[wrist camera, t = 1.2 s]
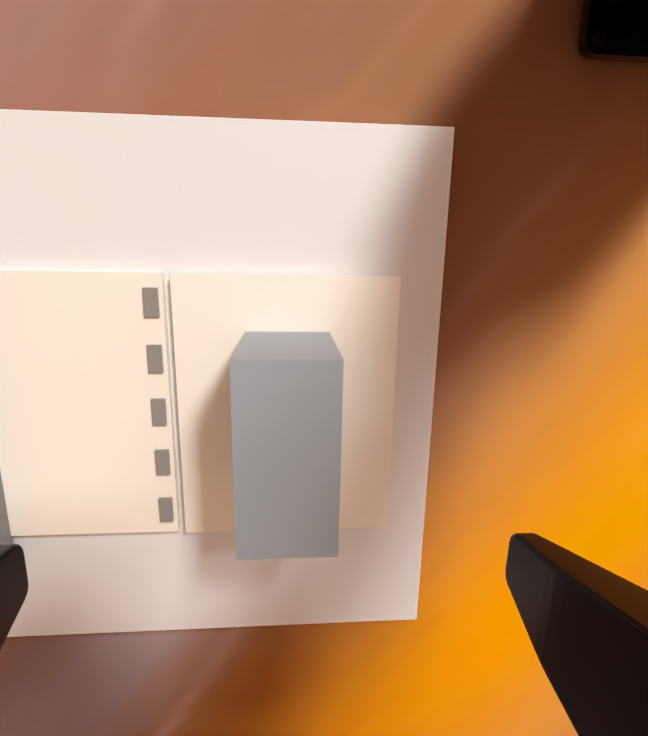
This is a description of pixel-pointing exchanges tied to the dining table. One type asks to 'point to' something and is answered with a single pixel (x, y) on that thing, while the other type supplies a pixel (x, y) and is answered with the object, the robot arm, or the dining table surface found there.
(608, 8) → the robot arm
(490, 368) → the dining table surface
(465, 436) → the dining table surface
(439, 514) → the dining table surface
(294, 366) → the cream plate grey block
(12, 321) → the board
